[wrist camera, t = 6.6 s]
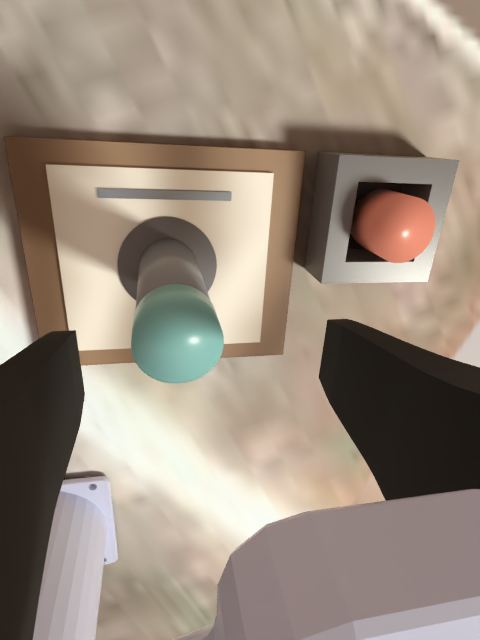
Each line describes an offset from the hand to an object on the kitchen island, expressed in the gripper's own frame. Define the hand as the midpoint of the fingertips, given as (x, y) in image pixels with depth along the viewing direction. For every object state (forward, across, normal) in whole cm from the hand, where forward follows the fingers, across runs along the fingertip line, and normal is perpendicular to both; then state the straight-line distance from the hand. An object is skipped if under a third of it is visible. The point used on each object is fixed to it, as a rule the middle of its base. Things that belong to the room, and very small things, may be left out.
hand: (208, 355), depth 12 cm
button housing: (+10, -10, -2) cm, 14 cm away
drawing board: (+10, +1, 0) cm, 10 cm away
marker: (+9, +1, 0) cm, 9 cm away
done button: (+9, -10, -2) cm, 13 cm away
